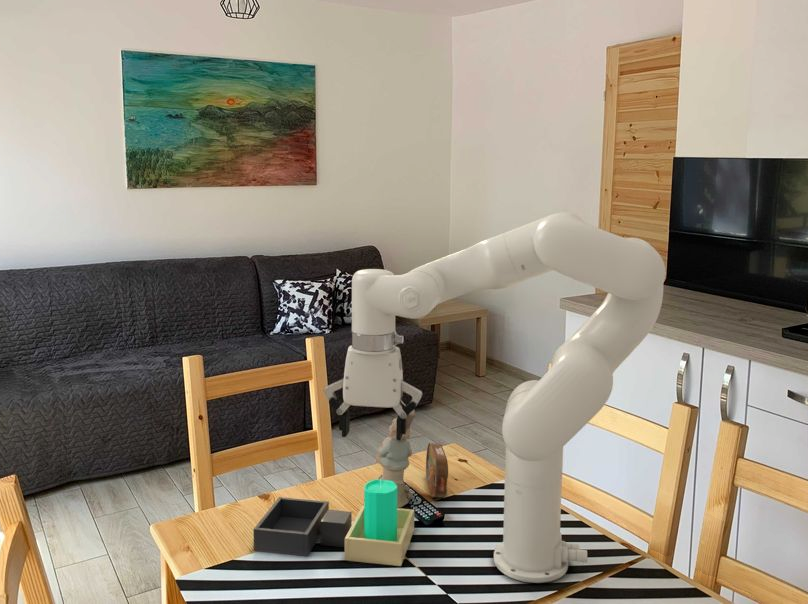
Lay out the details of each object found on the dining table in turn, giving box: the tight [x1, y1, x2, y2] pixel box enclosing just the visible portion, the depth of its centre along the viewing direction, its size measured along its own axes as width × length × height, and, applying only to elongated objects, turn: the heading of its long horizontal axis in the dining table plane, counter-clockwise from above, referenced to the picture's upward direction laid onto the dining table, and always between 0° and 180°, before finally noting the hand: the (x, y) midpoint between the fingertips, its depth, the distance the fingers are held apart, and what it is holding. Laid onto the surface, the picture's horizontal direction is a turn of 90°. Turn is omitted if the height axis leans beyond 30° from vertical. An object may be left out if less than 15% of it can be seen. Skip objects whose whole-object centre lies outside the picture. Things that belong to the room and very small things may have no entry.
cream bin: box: [344, 504, 415, 567], centre depth 127 cm, size 10×12×4 cm
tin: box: [425, 442, 449, 498], centre depth 149 cm, size 15×3×8 cm, turn 6°
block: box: [320, 509, 353, 549], centre depth 128 cm, size 4×4×4 cm
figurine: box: [375, 409, 416, 508], centre depth 143 cm, size 9×8×20 cm
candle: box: [363, 478, 397, 542], centre depth 126 cm, size 6×6×12 cm
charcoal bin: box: [253, 496, 330, 557], centre depth 130 cm, size 10×12×4 cm
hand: (372, 436), depth 125 cm, fingers open, 9 cm apart
